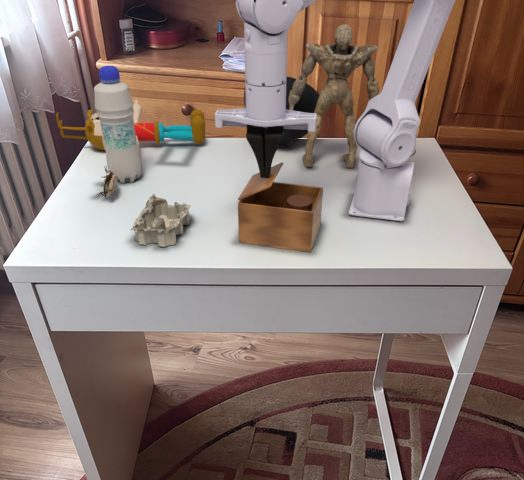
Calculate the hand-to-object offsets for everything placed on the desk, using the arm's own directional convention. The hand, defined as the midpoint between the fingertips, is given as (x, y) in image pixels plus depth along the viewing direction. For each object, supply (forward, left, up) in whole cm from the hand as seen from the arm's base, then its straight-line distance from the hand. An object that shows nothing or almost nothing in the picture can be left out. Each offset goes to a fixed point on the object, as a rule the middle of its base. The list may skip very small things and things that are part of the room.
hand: (265, 175), depth 85 cm
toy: (+22, -34, -7) cm, 41 cm away
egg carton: (+16, +4, -10) cm, 20 cm away
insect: (+33, -6, -7) cm, 34 cm away
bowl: (+7, -33, -7) cm, 35 cm away
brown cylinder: (-5, 0, -10) cm, 11 cm away
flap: (+1, 0, -1) cm, 1 cm away
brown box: (-3, 0, -10) cm, 10 cm away
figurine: (-5, -31, -10) cm, 33 cm away
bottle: (+31, -13, -10) cm, 35 cm away
